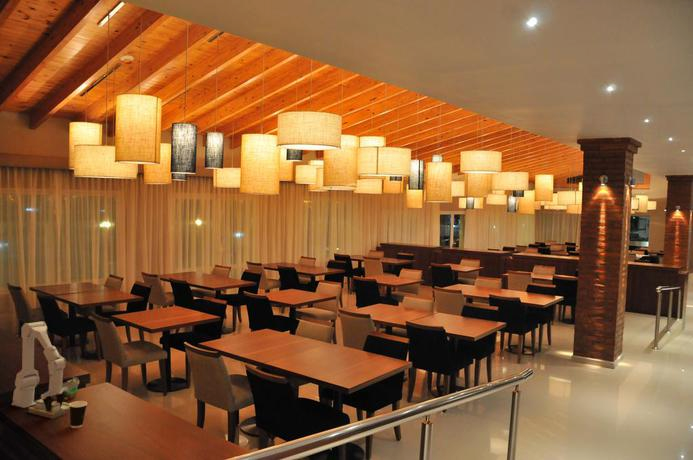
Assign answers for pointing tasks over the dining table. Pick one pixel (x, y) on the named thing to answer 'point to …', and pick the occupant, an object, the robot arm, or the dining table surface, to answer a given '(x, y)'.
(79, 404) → the dixie cup
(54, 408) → the plug
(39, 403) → the beige block
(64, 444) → the dining table surface
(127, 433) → the dining table surface
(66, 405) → the tray
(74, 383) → the food container
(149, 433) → the dining table surface
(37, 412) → the grey cubby shelf
